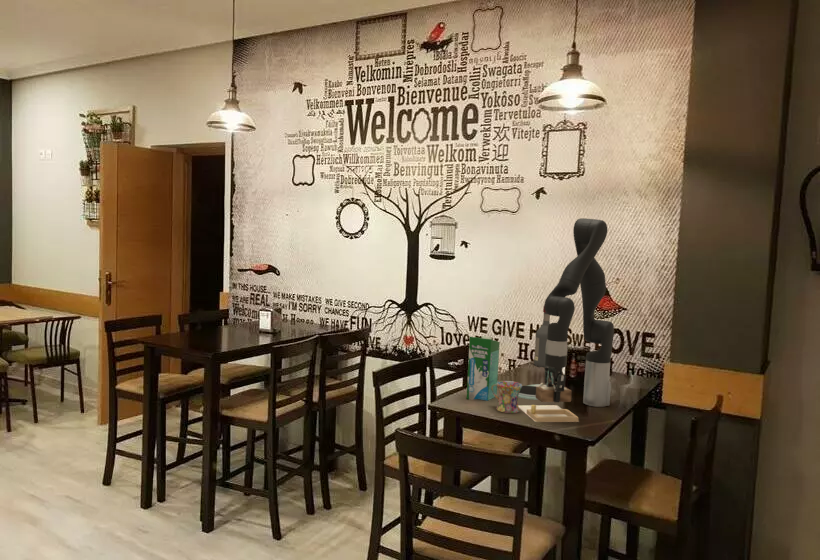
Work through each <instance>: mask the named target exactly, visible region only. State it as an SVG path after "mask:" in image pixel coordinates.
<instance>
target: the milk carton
mask: <svg viewBox="0 0 820 560" xmlns="http://www.w3.org/2000/svg"><path fill="white" fill-rule="evenodd" d="M500 345H501V344H500V341H497V340H495V339H494V340H493V337H491V336H485V335H482V336H481V337H476V336H475V337H474V336H469V345H468V361H467V364H468V365H467V379H466V380H467V382H466V383H467V384H466V386H467V387H466V400H470V401H472V400H474V401H475V400H481V401H490V400H491V399H494V398H496V397H495V396H494V394H493V393H492V390H491V387H492V385H494V384H496V385H497V382H498V380H499V379H498V378H499V362H500V361H499V359H500ZM493 391H494V393H495V395H496V396H497V395H498V387H497V386H493ZM497 397H498V396H497Z"/></svg>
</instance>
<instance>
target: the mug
mask: <svg viewBox="0 0 820 560" xmlns="http://www.w3.org/2000/svg"><path fill="white" fill-rule="evenodd" d="M493 386H497V390H498V395H499V397H498V396H496V395H495V393H494V391H493ZM522 386H523V383H520V382H518V381H512V380H499V381H497V385H496V384H494V385H492V387H491V390H492V393H493V394H494V396H495V397H494V398H496V399H497V400H498V401H497V403H498V404H497V406H496V410H497V411H498V412H502V413H506V414H516V413H519V412H520V411H521V409H520V408H519V407H518V405H519V402H518V401H519V399H518V398H519V397H518V395H519V392H520V389H521V387H522Z"/></svg>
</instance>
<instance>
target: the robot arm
mask: <svg viewBox="0 0 820 560" xmlns="http://www.w3.org/2000/svg"><path fill="white" fill-rule="evenodd" d="M572 230H573V240H574V245H575V250H576V257H575V258H574V259H572V260H571V261H570V262H569V263H568V264H567V265H566V266H565V267H564V270H563V271H562V274H561V276H560V278H559V281H558V283H557V284H556V285H555V287H554V288H553V289H552V290H551V292H550V293H549V294H548V295H547V297H546V299H545V301H544V305H543V307H544V309H545V312H546V313H547V314H548V315H550V316H554V317H559V318H558V320H557V322H551V323H550V324H549V325H548V332H547V343H546V351H545V365H546V366H548V367H544V385H546V386H547V387H554V398H553V401H554V402H553V403H561V402H560V393H561V392H562V391H564V387H566V381H567V375H566V374H563V369H564V368H566V367H567V364H568V363H567V361H568V359H567V358H568V337H569V336H568V335H569V329H570V326H571V322H572V319H573V316H574V313H575V308H576V307H575V303H574V300H573V299H572V298H570V297H568V296H572V295H575V294H576V293H577V292H578V290H579V289H580V293H581V299H582V316H583V317H582V325H583V326H582V330H583V331H582V332H583V333H582V334H583V337H584V340H585V341H586V342H587V343H592V344H596V345H597V344H598V345H600V348H599V349H597V350H592V351H588V352H587V353H586V355H585V369H584V382H583V385H584V386H583V397H582V399H583V400H582V403H583V404H585V405H587V406H590V407H596V408H604V407H606V406H608V407H610V404H611V403H610V402H611V401H610V400H611V391H612V390H611V389H612V382H611V381H610V371H611V370H610V369H611V359H612V353H613V352H612V351H613V342H614V338H615V337H614V335H615V334H614V333H615V326H614V324H613V322H612V321H609V320H608V321H607V320H600V319H595V312H596V308H597V306H599V304H600V303H601V301H602V299H603V297H604V296H605V294H606V292H607V285H606V284H607V283H606V275H605V272H604V269H603V268H602V267H601V265H600V263H599V262H598V261H597V260H596V258H595V257H596V256H597V254H598V252H599V251H600V249H601V247H602V246H603V244H604V242H605V240H606V239H607V237H608V224H607V223H606V221H605V220H604V219H603V220H602V219H596V218H595V219H594V218H580V217H579V218H578V219H576V220H575V222H574V224H573V229H572ZM579 287H580V288H579Z"/></svg>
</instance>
